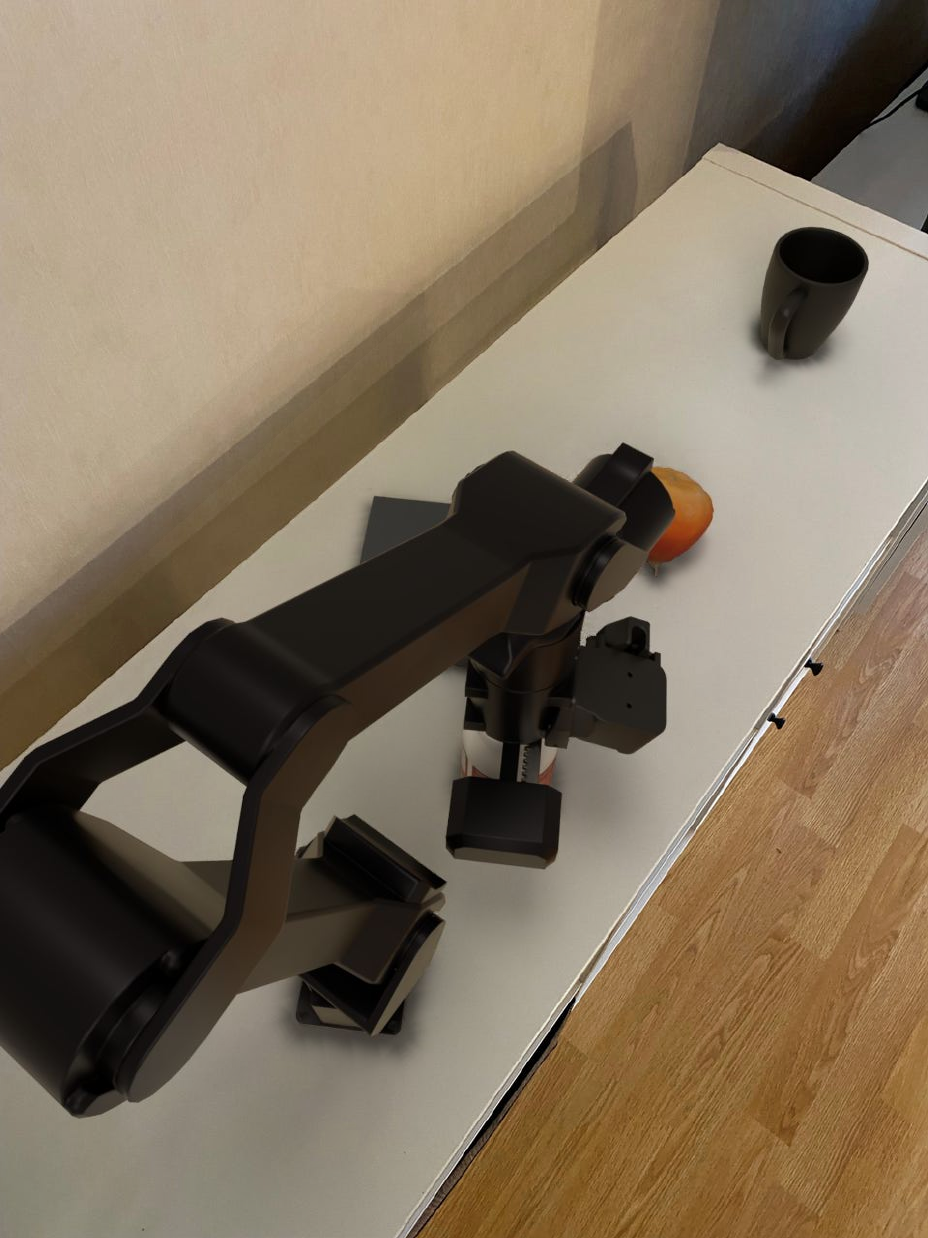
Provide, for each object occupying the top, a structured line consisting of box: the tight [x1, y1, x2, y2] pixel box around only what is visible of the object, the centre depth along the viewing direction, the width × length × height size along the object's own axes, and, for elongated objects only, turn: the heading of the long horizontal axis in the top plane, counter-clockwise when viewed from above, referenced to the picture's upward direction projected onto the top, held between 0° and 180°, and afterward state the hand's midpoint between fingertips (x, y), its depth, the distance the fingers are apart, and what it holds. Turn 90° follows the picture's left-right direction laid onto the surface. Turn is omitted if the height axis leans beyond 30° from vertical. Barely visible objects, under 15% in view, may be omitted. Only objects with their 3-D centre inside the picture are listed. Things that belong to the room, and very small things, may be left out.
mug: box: [760, 226, 870, 361], centre depth 88 cm, size 8×12×10 cm
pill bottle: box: [460, 729, 559, 787], centre depth 63 cm, size 6×6×11 cm
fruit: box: [646, 466, 715, 578], centre depth 77 cm, size 8×8×8 cm
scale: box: [358, 495, 469, 667], centre depth 75 cm, size 14×12×4 cm
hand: (507, 763), depth 65 cm, fingers closed on pill bottle, 8 cm apart
